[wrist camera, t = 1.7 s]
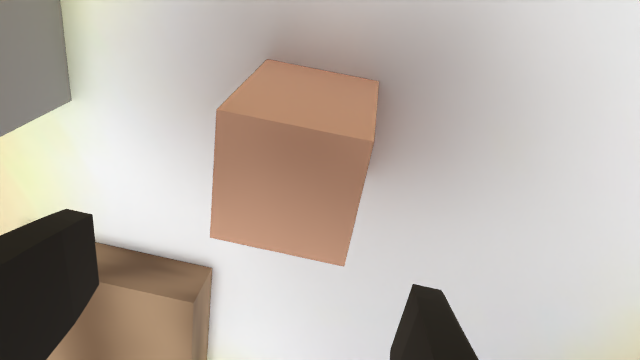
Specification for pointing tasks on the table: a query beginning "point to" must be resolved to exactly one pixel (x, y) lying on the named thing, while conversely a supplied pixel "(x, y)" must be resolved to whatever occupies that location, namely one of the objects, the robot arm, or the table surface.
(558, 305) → the table surface
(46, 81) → the medium grey block
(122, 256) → the walnut slab
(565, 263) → the table surface
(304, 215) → the terracotta block
